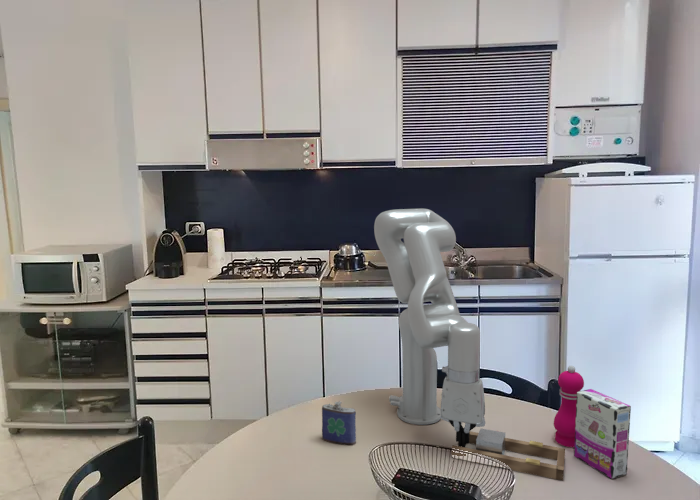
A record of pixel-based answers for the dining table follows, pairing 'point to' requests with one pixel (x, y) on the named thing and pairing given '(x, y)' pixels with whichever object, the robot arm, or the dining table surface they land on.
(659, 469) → the dining table surface
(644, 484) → the dining table surface
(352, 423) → the flask
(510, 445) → the track
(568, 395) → the pepper mill
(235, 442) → the dining table surface
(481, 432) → the block
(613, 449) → the candy bar box
